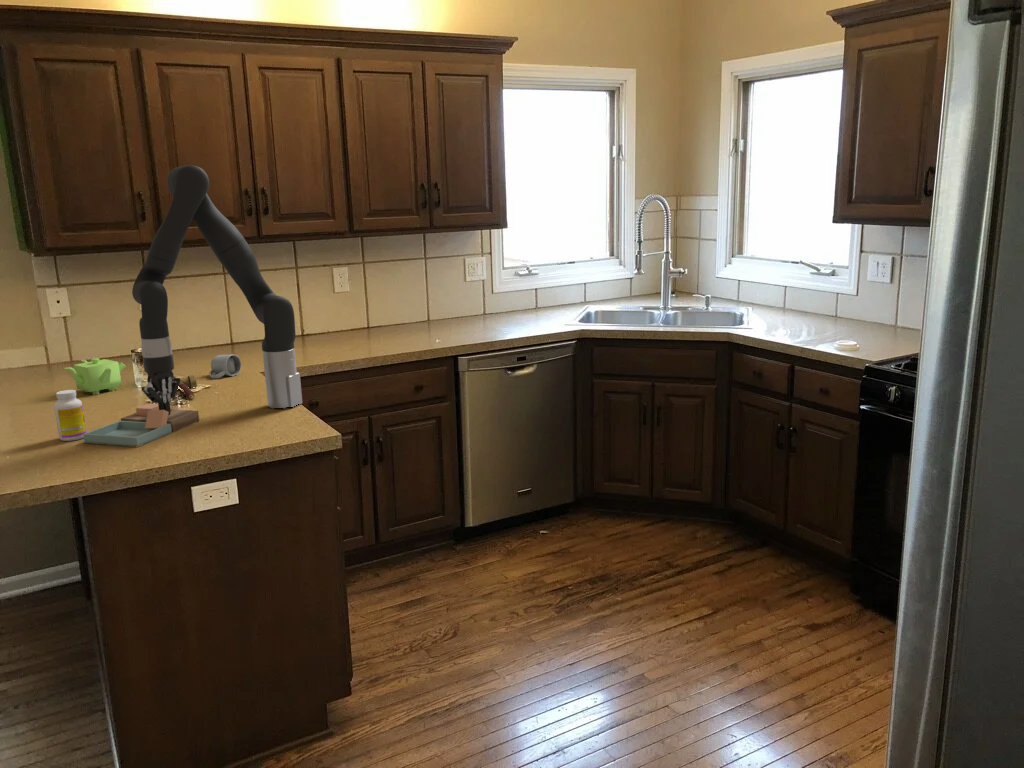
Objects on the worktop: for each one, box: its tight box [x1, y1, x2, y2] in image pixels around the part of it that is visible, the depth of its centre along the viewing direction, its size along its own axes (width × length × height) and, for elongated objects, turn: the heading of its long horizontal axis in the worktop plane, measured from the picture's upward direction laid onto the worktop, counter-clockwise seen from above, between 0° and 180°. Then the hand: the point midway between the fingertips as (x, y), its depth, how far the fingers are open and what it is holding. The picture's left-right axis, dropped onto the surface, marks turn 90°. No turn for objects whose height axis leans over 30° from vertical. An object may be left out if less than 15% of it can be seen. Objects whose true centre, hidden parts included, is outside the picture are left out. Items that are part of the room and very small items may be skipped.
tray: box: [82, 420, 173, 448], centre depth 217 cm, size 17×13×2 cm
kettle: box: [63, 357, 127, 395], centre depth 272 cm, size 15×14×11 cm
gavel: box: [179, 374, 198, 401], centre depth 264 cm, size 21×5×10 cm
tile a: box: [145, 410, 169, 430], centre depth 220 cm, size 5×5×2 cm
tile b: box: [135, 403, 159, 416], centre depth 230 cm, size 5×5×2 cm
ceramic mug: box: [208, 353, 242, 380], centre depth 289 cm, size 11×8×8 cm
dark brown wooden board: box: [120, 408, 200, 433], centre depth 229 cm, size 17×11×3 cm, turn 73°
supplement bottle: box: [53, 389, 88, 442], centre depth 218 cm, size 7×7×13 cm
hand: (165, 415), depth 224 cm, fingers closed
